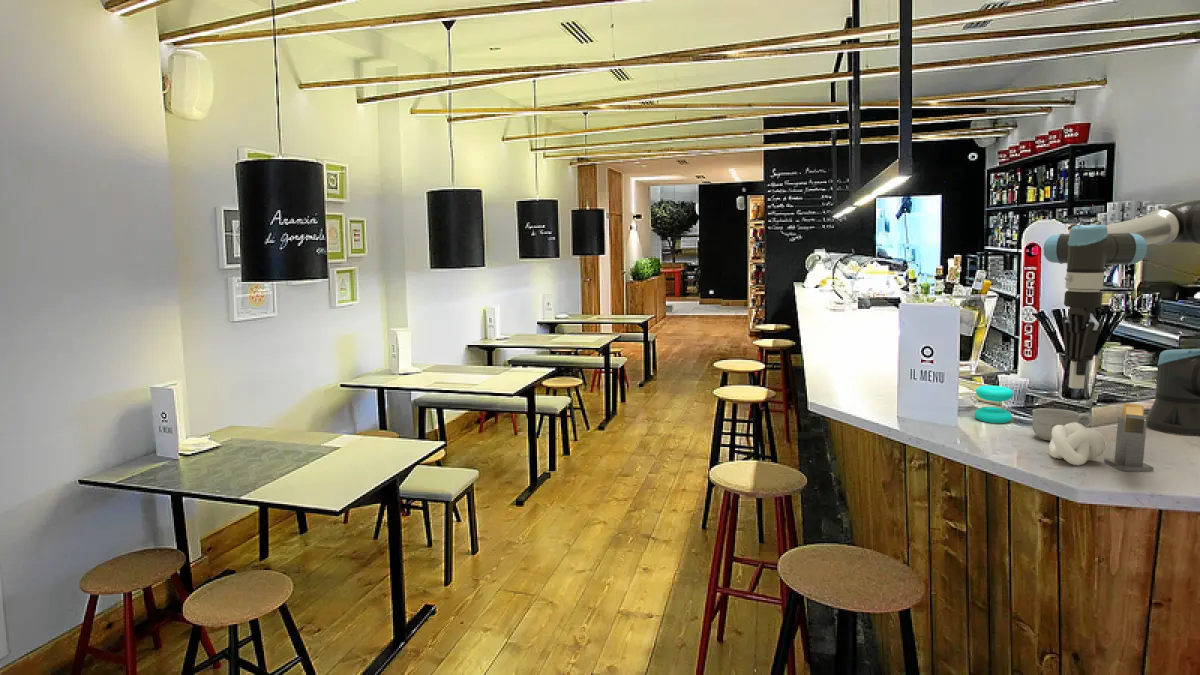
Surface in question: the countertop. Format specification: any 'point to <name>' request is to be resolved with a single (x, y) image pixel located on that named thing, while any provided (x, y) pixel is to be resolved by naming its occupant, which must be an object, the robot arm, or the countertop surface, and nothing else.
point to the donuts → (993, 412)
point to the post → (1129, 450)
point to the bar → (1133, 418)
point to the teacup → (1054, 420)
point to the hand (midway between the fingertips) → (1076, 387)
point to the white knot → (1075, 443)
